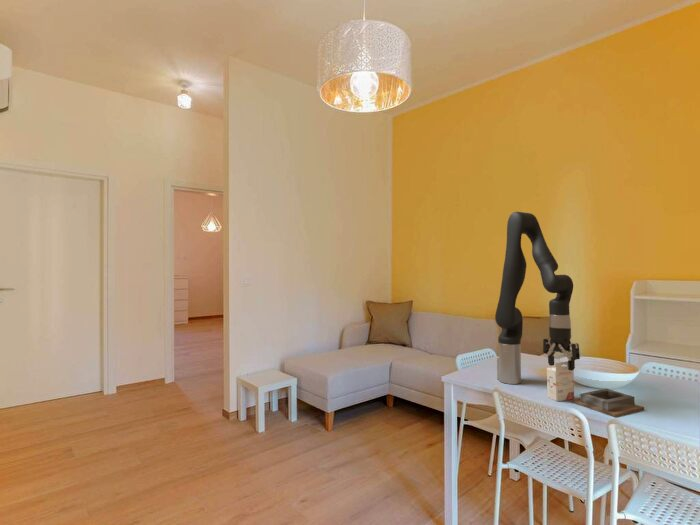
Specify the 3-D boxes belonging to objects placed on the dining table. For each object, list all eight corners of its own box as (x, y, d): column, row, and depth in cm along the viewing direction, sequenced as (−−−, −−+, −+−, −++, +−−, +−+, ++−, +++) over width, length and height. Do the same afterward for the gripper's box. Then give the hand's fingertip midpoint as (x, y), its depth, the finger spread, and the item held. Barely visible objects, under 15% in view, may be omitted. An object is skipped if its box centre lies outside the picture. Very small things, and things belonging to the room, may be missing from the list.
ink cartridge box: (564, 395, 158) (564, 358, 158) (574, 399, 153) (574, 361, 153) (546, 397, 156) (546, 359, 156) (556, 401, 151) (555, 362, 151)
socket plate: (572, 402, 150) (572, 391, 150) (600, 396, 156) (600, 386, 156) (614, 417, 135) (614, 405, 135) (644, 410, 141) (644, 398, 141)
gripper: (537, 324, 160) (538, 365, 159) (569, 329, 147) (571, 373, 146) (550, 323, 163) (552, 362, 162) (583, 327, 150) (585, 370, 149)
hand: (561, 367), depth 154 cm, fingers open, 8 cm apart
